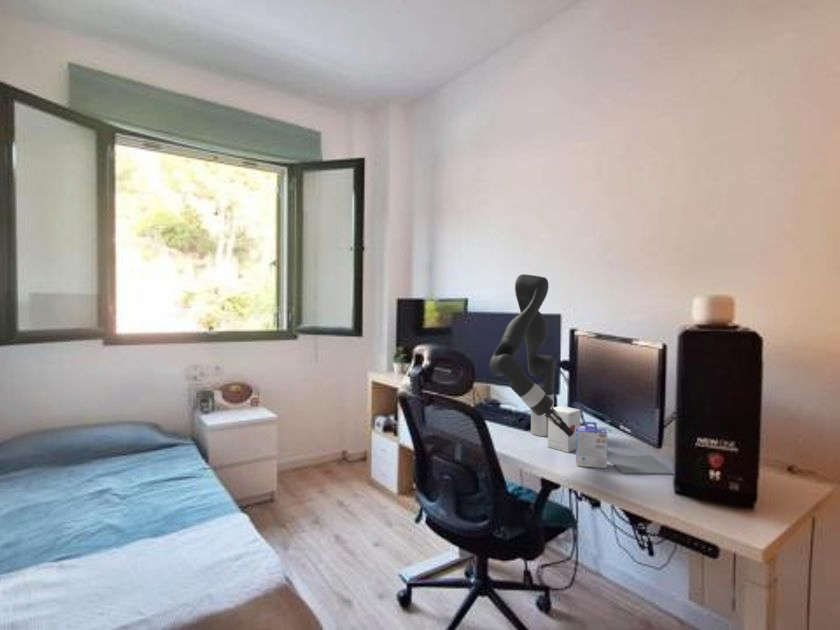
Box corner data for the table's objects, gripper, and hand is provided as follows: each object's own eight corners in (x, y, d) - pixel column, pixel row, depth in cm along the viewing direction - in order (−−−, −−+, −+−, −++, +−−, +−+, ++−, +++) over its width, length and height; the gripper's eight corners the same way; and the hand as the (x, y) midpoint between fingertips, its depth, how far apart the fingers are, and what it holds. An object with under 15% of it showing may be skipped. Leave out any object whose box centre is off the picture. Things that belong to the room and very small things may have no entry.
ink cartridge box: (604, 463, 159) (605, 422, 158) (607, 468, 153) (608, 426, 153) (574, 461, 161) (575, 420, 160) (577, 466, 155) (577, 424, 155)
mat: (603, 456, 165) (604, 455, 165) (651, 457, 164) (651, 455, 164) (622, 474, 149) (622, 472, 149) (675, 474, 149) (675, 472, 148)
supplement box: (568, 453, 169) (568, 413, 168) (547, 447, 175) (547, 408, 175) (580, 447, 175) (581, 409, 174) (559, 442, 181) (560, 405, 181)
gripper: (548, 395, 150) (585, 432, 150) (539, 387, 163) (573, 421, 163) (532, 411, 150) (569, 448, 150) (524, 402, 163) (558, 436, 164)
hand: (571, 434), depth 157 cm, fingers closed
